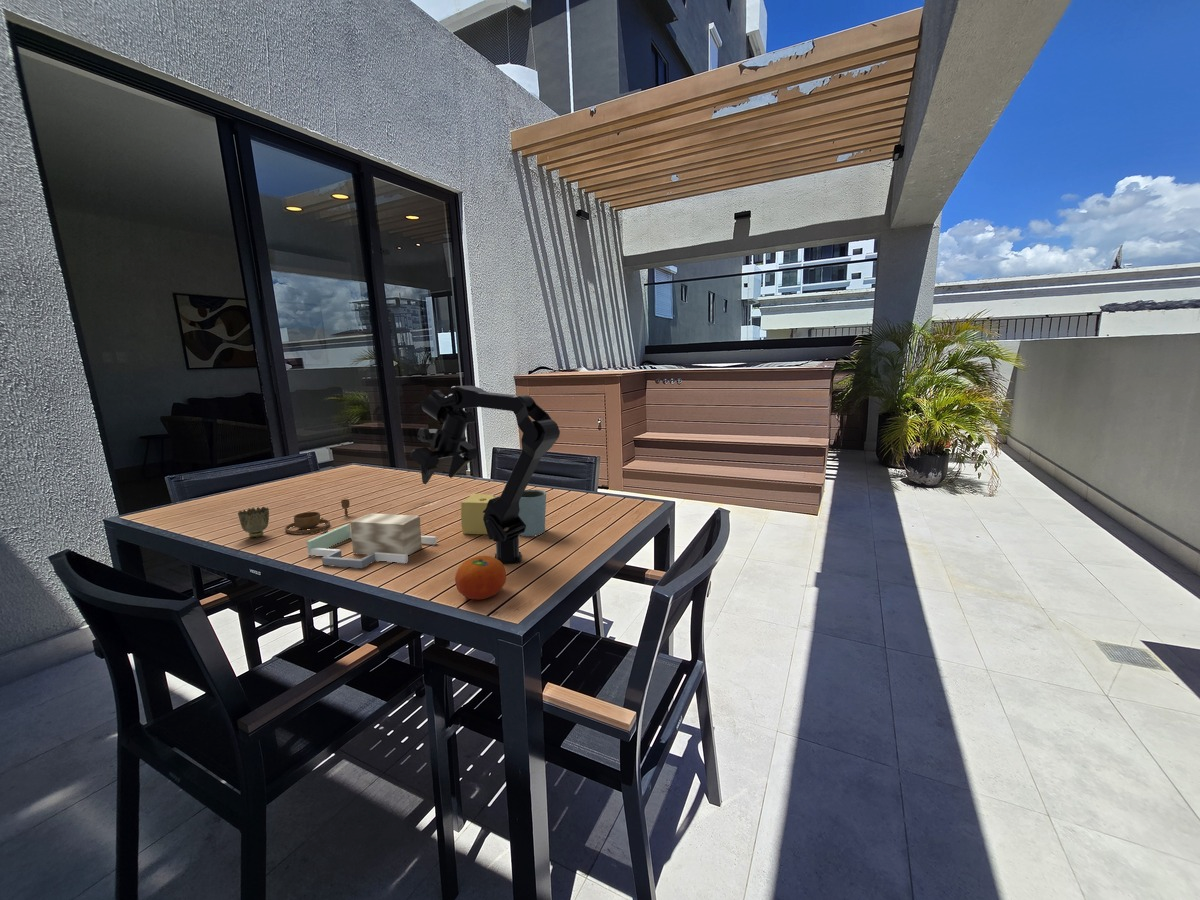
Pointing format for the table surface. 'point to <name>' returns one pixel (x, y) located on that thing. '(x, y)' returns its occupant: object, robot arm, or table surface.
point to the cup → (254, 521)
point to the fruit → (480, 577)
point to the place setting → (312, 520)
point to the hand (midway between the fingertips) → (437, 480)
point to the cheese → (474, 513)
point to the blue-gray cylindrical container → (533, 512)
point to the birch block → (386, 534)
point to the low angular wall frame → (334, 558)
